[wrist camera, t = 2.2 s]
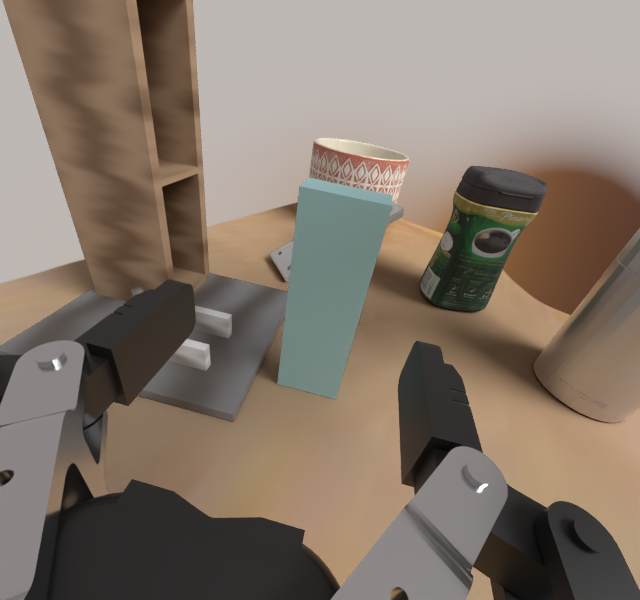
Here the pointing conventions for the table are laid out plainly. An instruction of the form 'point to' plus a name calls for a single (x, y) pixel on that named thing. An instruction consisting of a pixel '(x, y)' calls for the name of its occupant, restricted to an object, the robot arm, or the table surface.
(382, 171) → the planter
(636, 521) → the table surface
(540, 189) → the coffee jar
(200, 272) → the cabinet
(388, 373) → the table surface
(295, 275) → the teal rectangular block
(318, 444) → the table surface
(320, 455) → the table surface
